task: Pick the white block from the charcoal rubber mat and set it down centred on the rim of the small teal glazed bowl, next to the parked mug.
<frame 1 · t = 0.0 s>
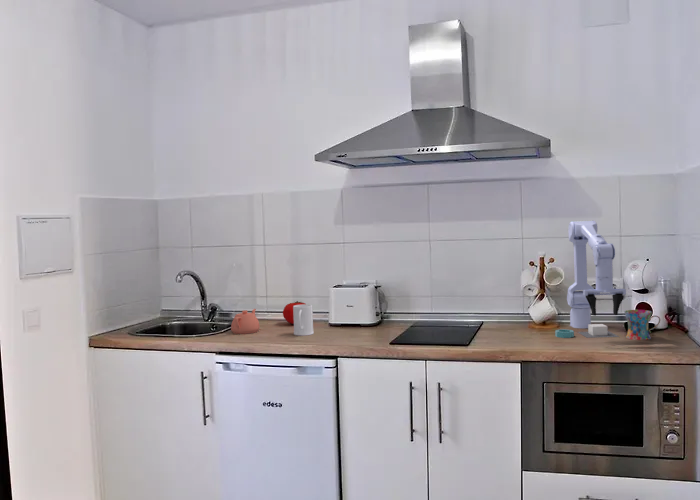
hand: (604, 314, 237), 10 cm above the worktop, fingers open, 7 cm apart
tomato: (296, 324, 304), on the worktop
mug 2: (302, 335, 276), on the worktop
mug: (642, 341, 239), on the worktop
teapot: (246, 332, 288), on the worktop
mat: (597, 336, 249), on the worktop
bowl: (564, 338, 247), on the worktop
white block: (597, 334, 249), point 1 cm above the worktop, touching mat
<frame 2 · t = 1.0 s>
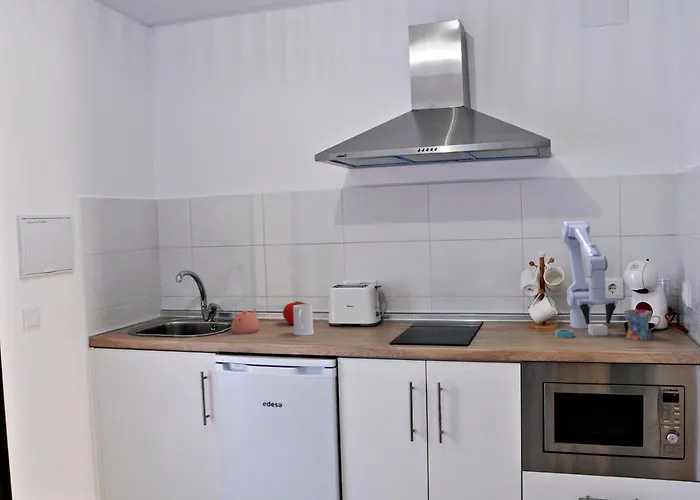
hand: (597, 323, 248), 5 cm above the worktop, fingers open, 7 cm apart
nothing on the worktop moved.
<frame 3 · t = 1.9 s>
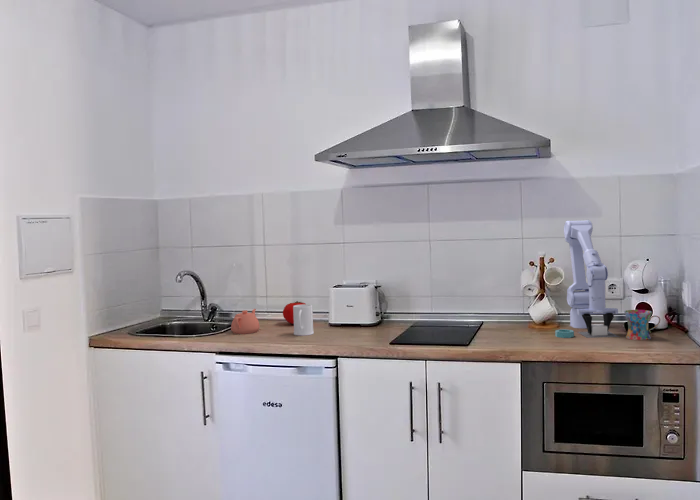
hand: (597, 333, 249), 1 cm above the worktop, fingers closed on white block, 5 cm apart
white block: (597, 334, 249), point 1 cm above the worktop, touching gripper, mat
everything else where it was.
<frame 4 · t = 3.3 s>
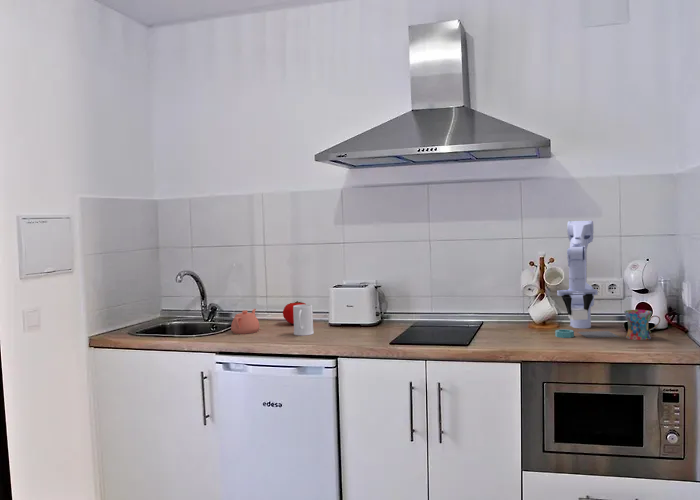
hand: (577, 314, 247), 9 cm above the worktop, fingers closed on white block, 5 cm apart
white block: (578, 318, 247), point 7 cm above the worktop, touching gripper
everything else where it was.
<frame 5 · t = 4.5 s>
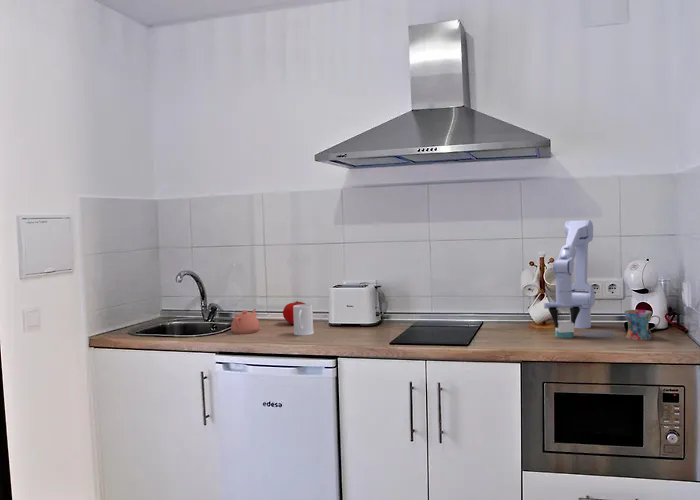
hand: (564, 327, 247), 4 cm above the worktop, fingers closed on white block, 5 cm apart
white block: (564, 331, 247), point 3 cm above the worktop, touching bowl, gripper
everything else where it was.
when the fingers open (4 cm above the worktop, at t = 5.0 s): white block stays where it is, resting on bowl.
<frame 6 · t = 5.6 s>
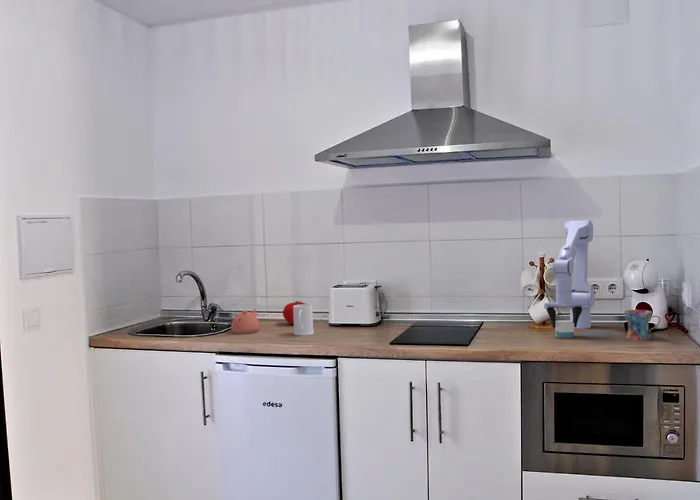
hand: (564, 327, 247), 4 cm above the worktop, fingers open, 7 cm apart
white block: (564, 331, 247), point 3 cm above the worktop, touching bowl
everything else where it was.
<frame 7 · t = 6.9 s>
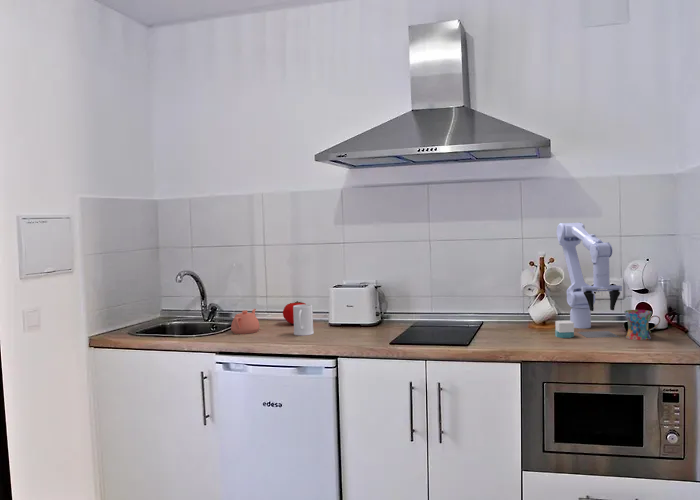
hand: (601, 310, 249), 10 cm above the worktop, fingers open, 7 cm apart
nothing on the worktop moved.
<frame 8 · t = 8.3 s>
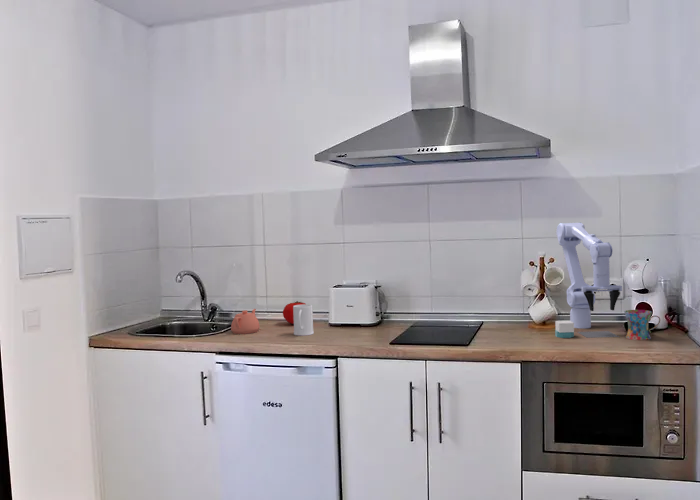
hand: (601, 310, 249), 10 cm above the worktop, fingers open, 7 cm apart
nothing on the worktop moved.
at the end: white block 0.4 cm off-centre on the bowl, point 3.0 cm above the bowl's base; white block tilted 0°; the gripper is holding nothing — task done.
